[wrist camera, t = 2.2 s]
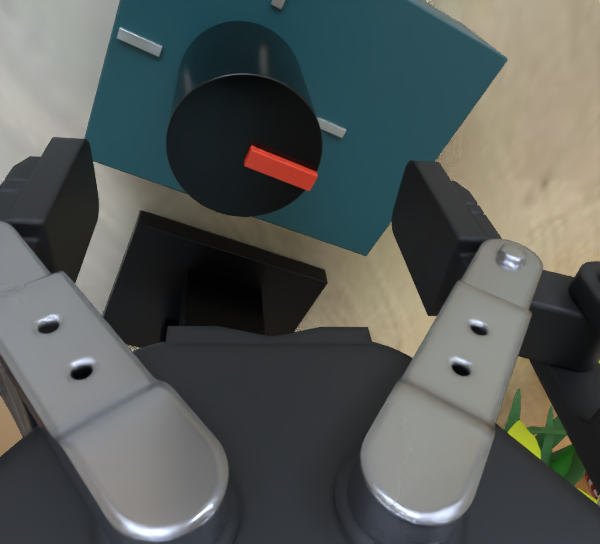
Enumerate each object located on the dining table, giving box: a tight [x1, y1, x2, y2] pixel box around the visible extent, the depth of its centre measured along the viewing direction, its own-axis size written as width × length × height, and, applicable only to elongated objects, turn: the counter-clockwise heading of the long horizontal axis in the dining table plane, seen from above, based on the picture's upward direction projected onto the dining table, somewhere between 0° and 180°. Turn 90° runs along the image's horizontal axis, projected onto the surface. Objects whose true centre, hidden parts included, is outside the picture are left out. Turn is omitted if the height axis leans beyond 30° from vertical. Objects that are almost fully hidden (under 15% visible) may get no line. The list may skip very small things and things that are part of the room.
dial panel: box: [84, 0, 507, 256], centre depth 20 cm, size 13×10×5 cm
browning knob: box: [166, 21, 323, 217], centre depth 16 cm, size 4×4×5 cm
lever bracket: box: [102, 211, 327, 348], centre depth 25 cm, size 11×9×14 cm
